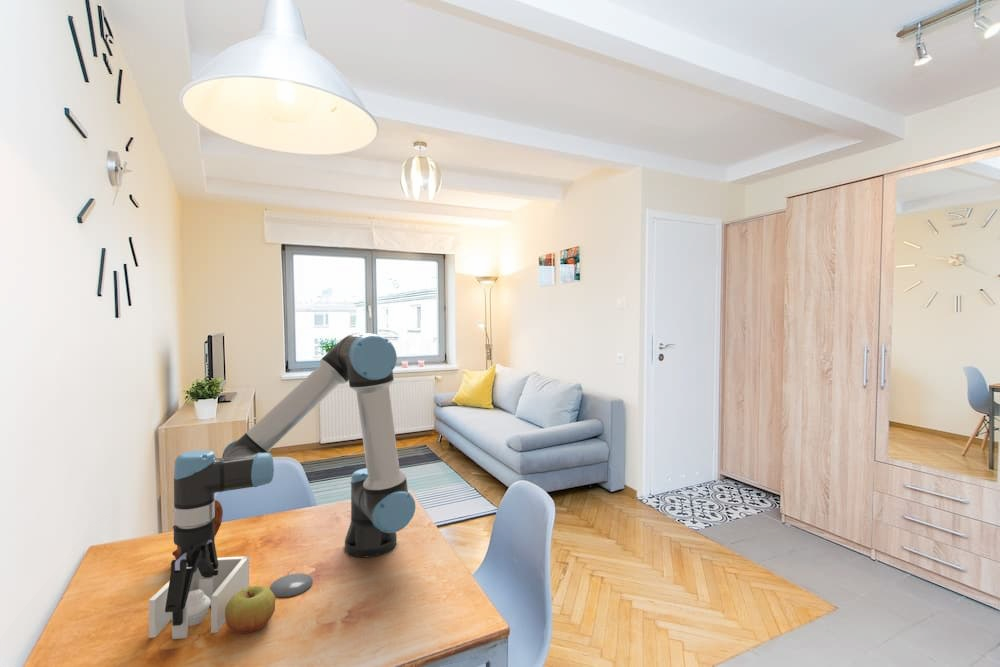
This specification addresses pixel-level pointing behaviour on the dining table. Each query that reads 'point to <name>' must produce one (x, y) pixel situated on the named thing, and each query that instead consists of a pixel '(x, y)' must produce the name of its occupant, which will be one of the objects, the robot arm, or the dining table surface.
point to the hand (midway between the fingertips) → (193, 620)
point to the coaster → (291, 585)
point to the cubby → (224, 587)
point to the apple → (250, 609)
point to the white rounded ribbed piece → (197, 606)
